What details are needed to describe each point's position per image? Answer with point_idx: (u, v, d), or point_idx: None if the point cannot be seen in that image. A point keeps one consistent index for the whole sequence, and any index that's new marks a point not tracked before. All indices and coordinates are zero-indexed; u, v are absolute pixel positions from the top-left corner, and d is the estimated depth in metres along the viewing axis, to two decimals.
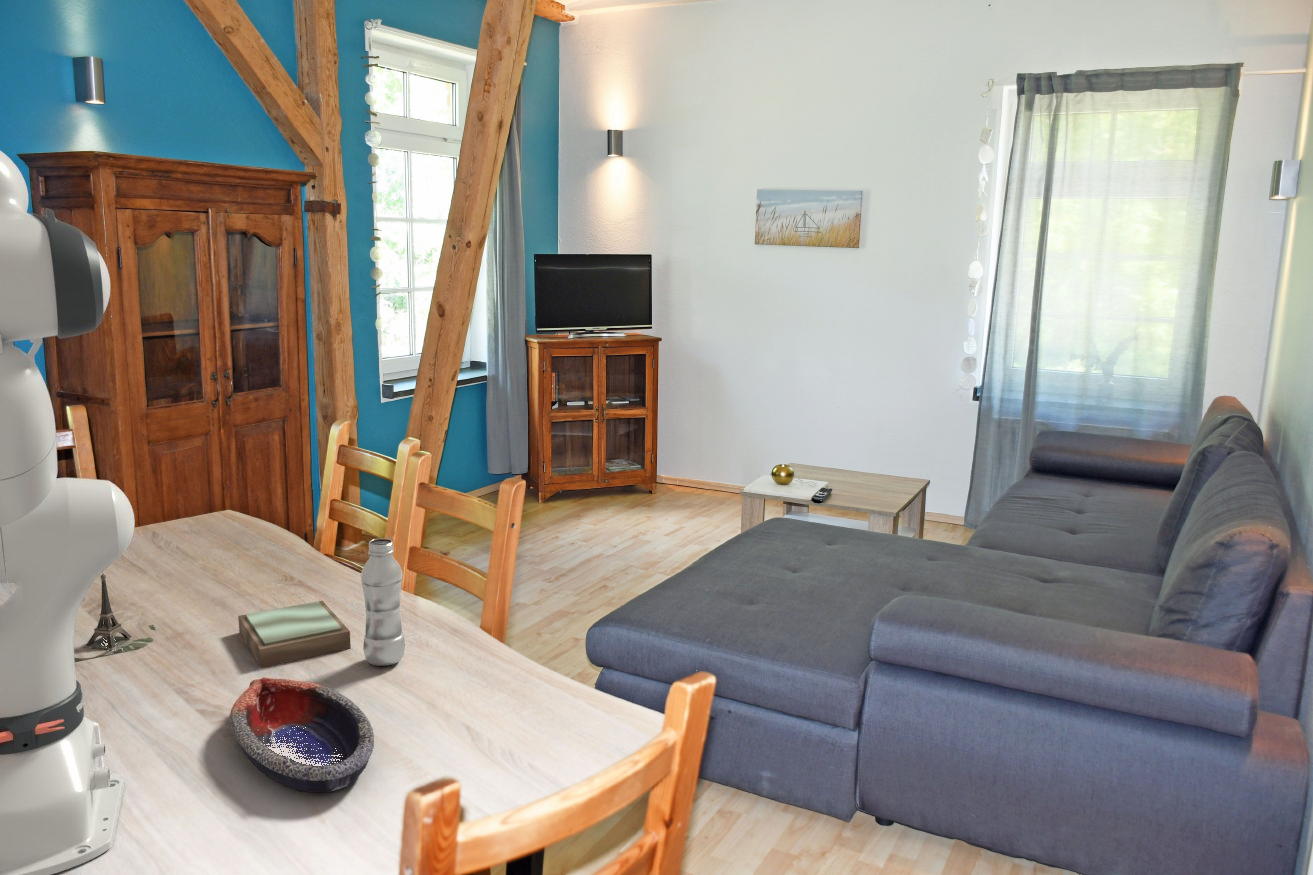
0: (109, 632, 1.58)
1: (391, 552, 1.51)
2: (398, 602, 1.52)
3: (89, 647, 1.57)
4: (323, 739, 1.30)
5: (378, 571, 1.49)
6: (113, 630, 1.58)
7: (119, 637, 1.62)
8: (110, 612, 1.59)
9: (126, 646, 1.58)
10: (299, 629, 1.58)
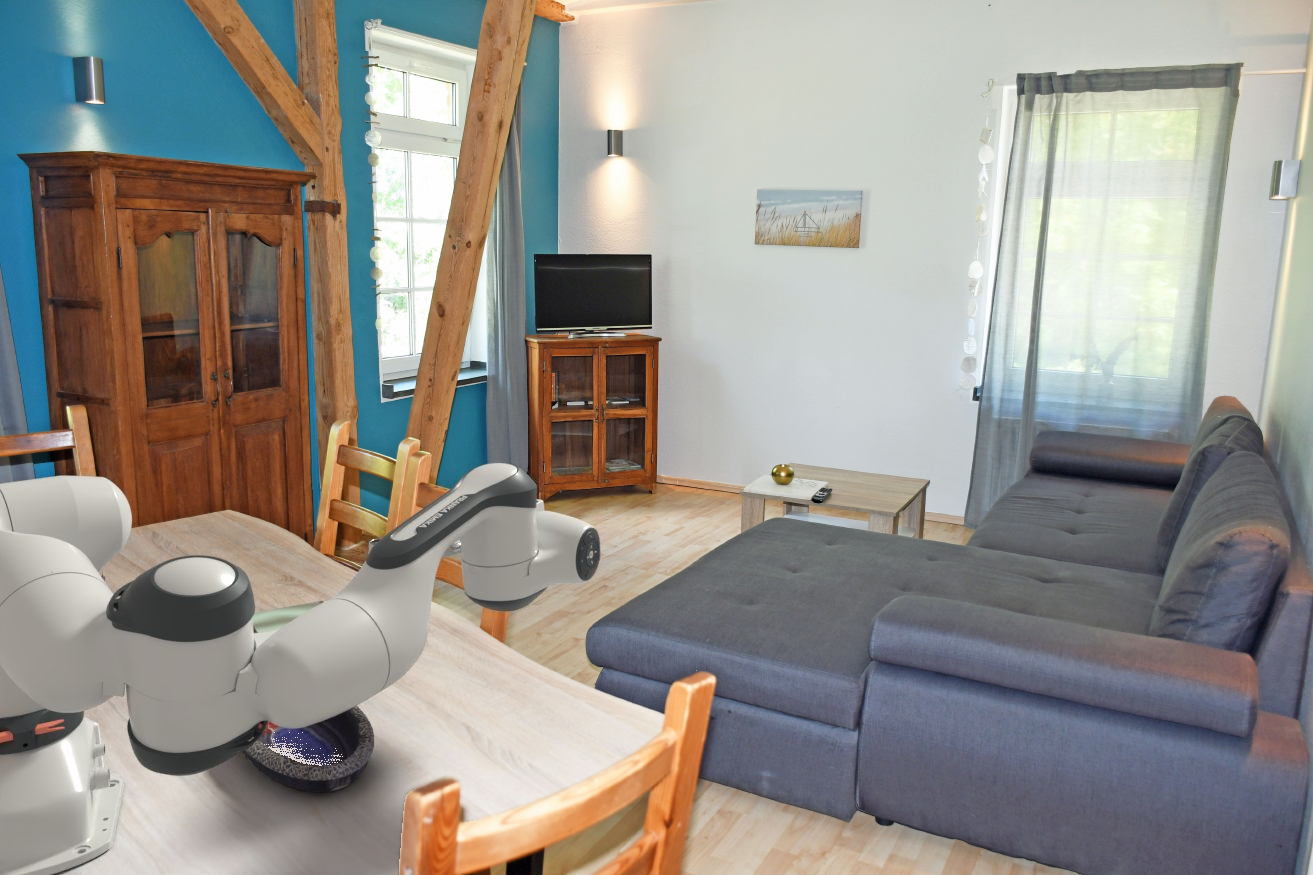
0: None
1: None
2: None
3: None
4: (323, 739, 1.30)
5: None
6: None
7: None
8: None
9: None
10: None
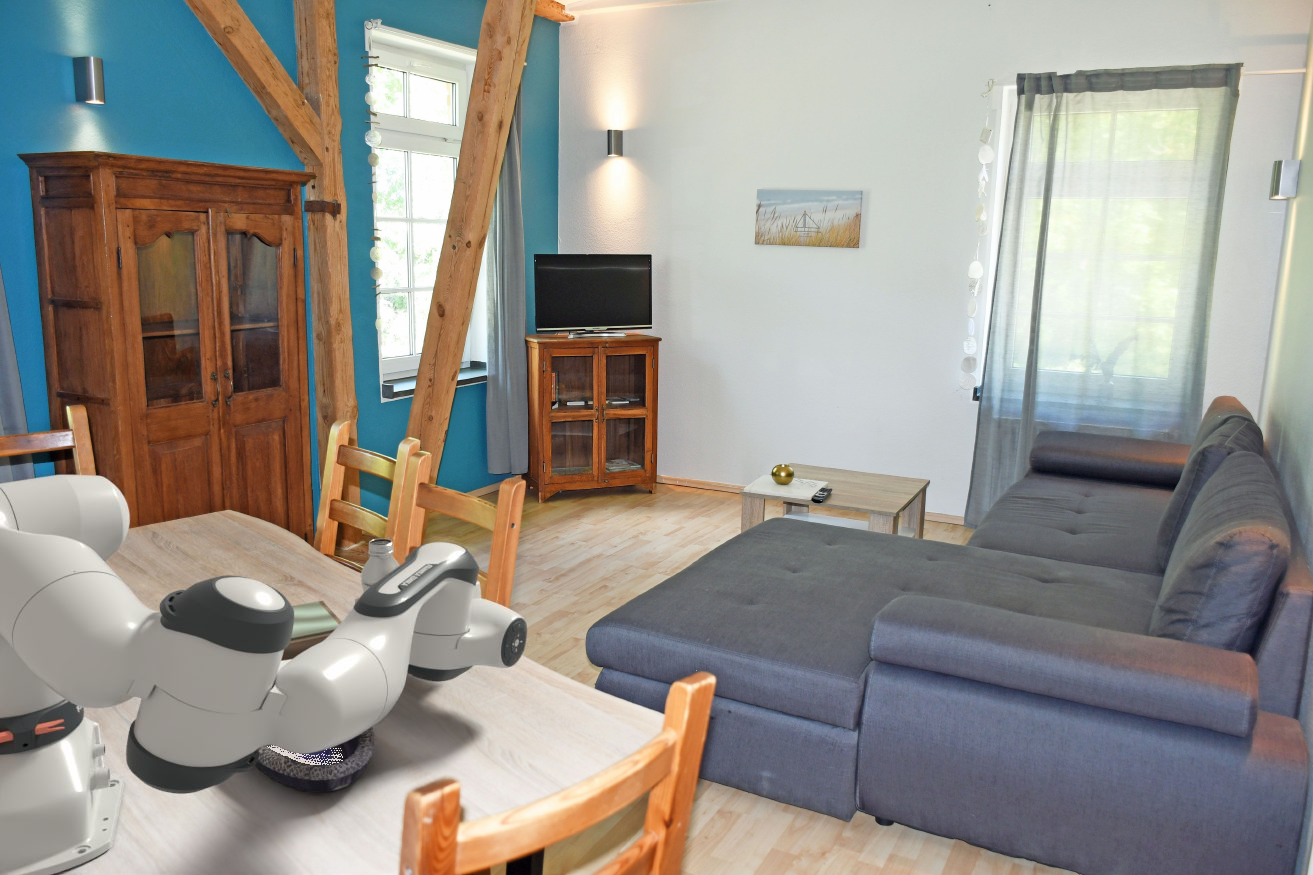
0: None
1: (391, 552, 1.51)
2: None
3: None
4: None
5: (378, 571, 1.49)
6: None
7: None
8: None
9: None
10: (299, 629, 1.58)
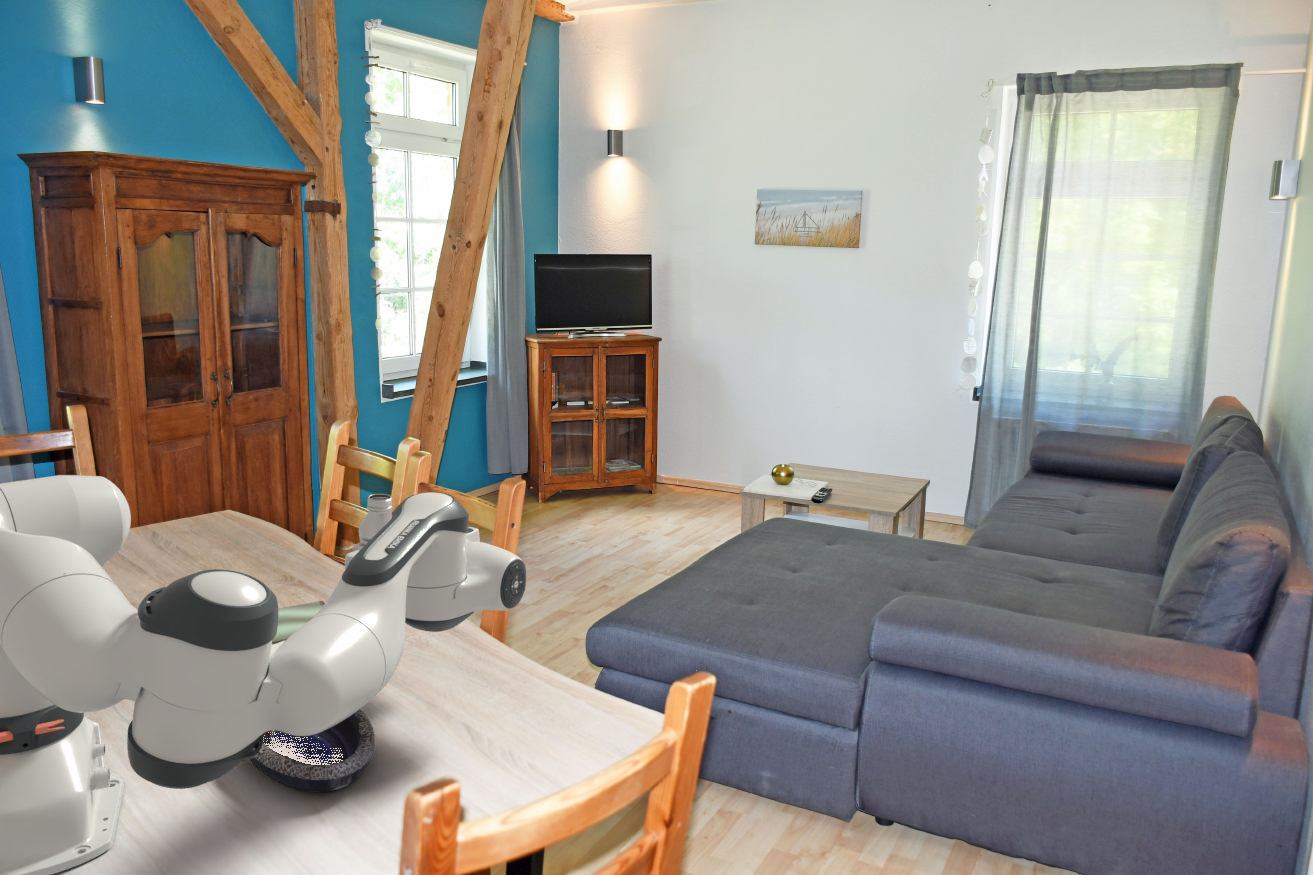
0: None
1: (390, 508, 1.49)
2: None
3: None
4: (323, 739, 1.30)
5: (377, 526, 1.48)
6: None
7: None
8: None
9: None
10: None
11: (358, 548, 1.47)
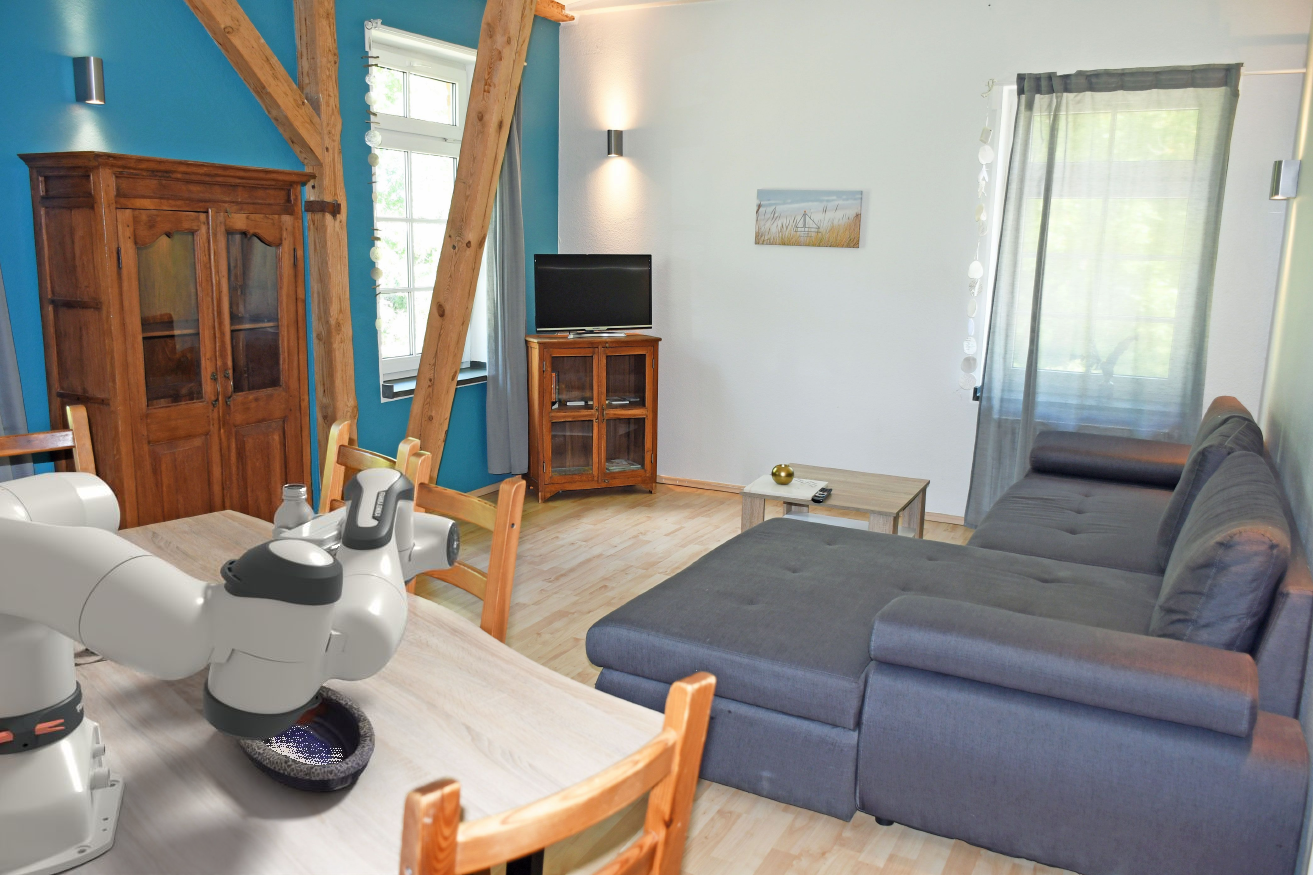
0: None
1: (306, 496, 1.57)
2: None
3: (88, 652, 1.56)
4: (323, 739, 1.30)
5: (296, 514, 1.55)
6: None
7: None
8: None
9: None
10: None
11: (279, 531, 1.53)
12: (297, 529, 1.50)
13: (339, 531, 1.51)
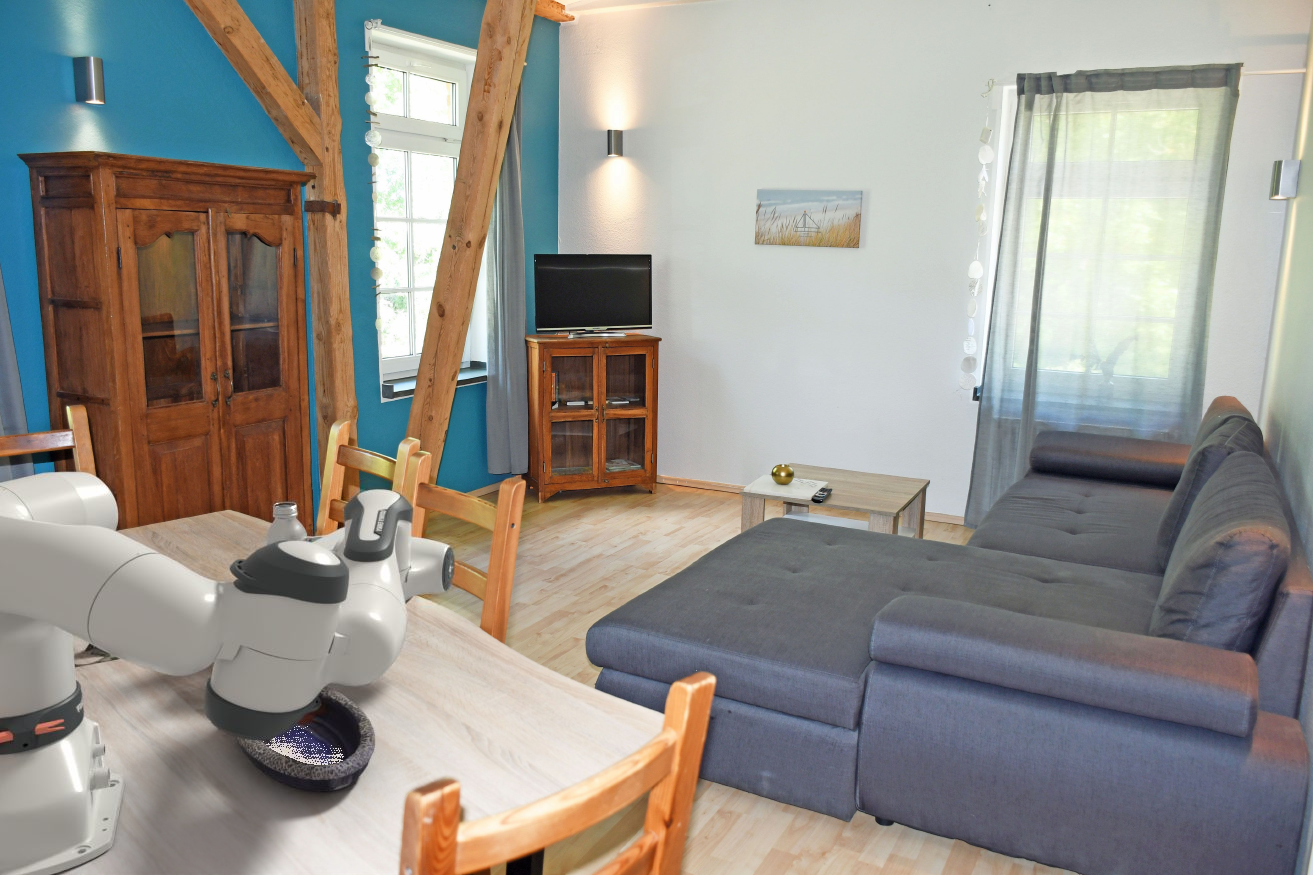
0: None
1: (297, 513, 1.58)
2: None
3: (88, 653, 1.55)
4: (323, 739, 1.30)
5: (288, 532, 1.56)
6: None
7: None
8: None
9: None
10: None
11: None
12: None
13: None
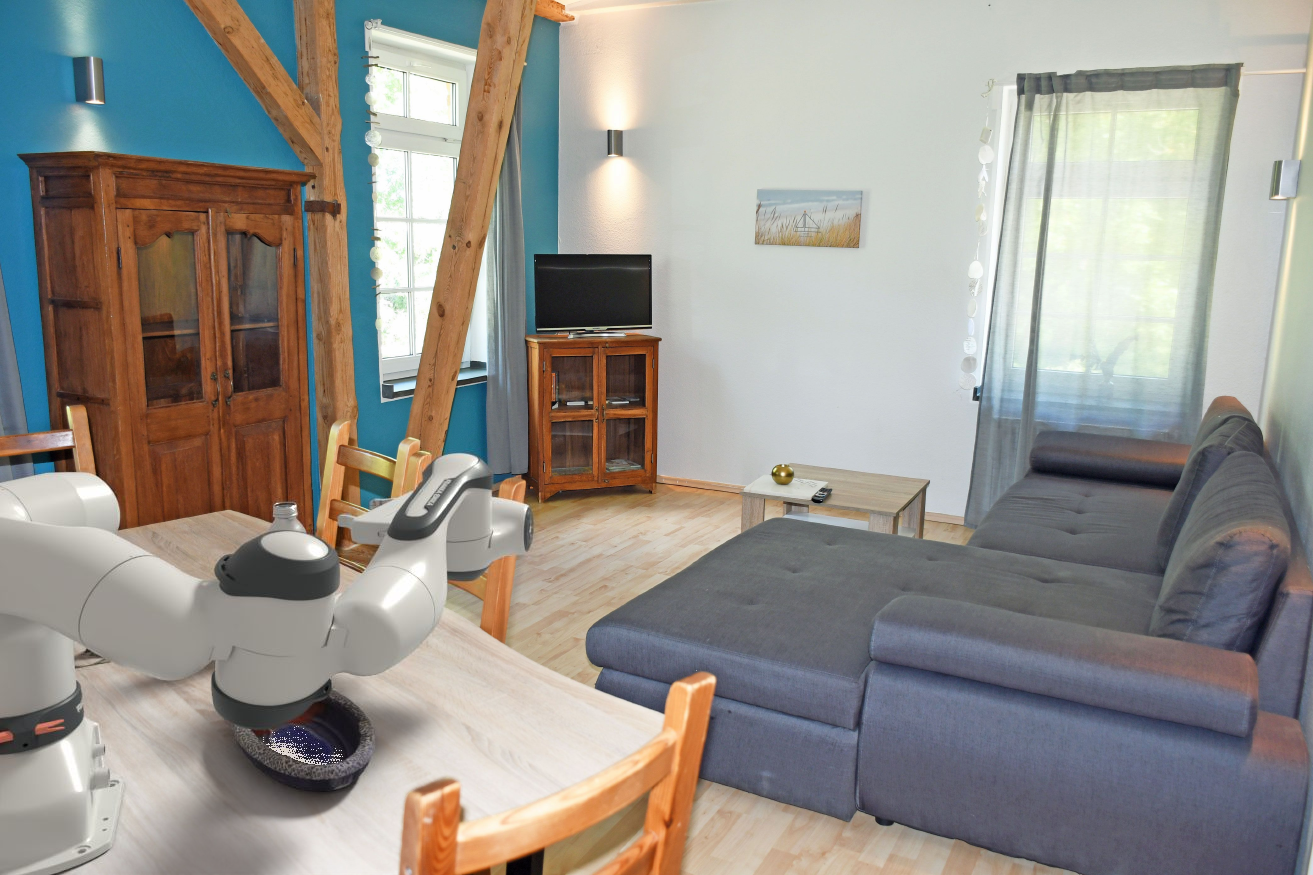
0: None
1: (297, 513, 1.58)
2: None
3: (87, 654, 1.55)
4: (322, 739, 1.30)
5: None
6: None
7: None
8: None
9: None
10: None
11: (345, 518, 1.50)
12: (369, 514, 1.47)
13: None
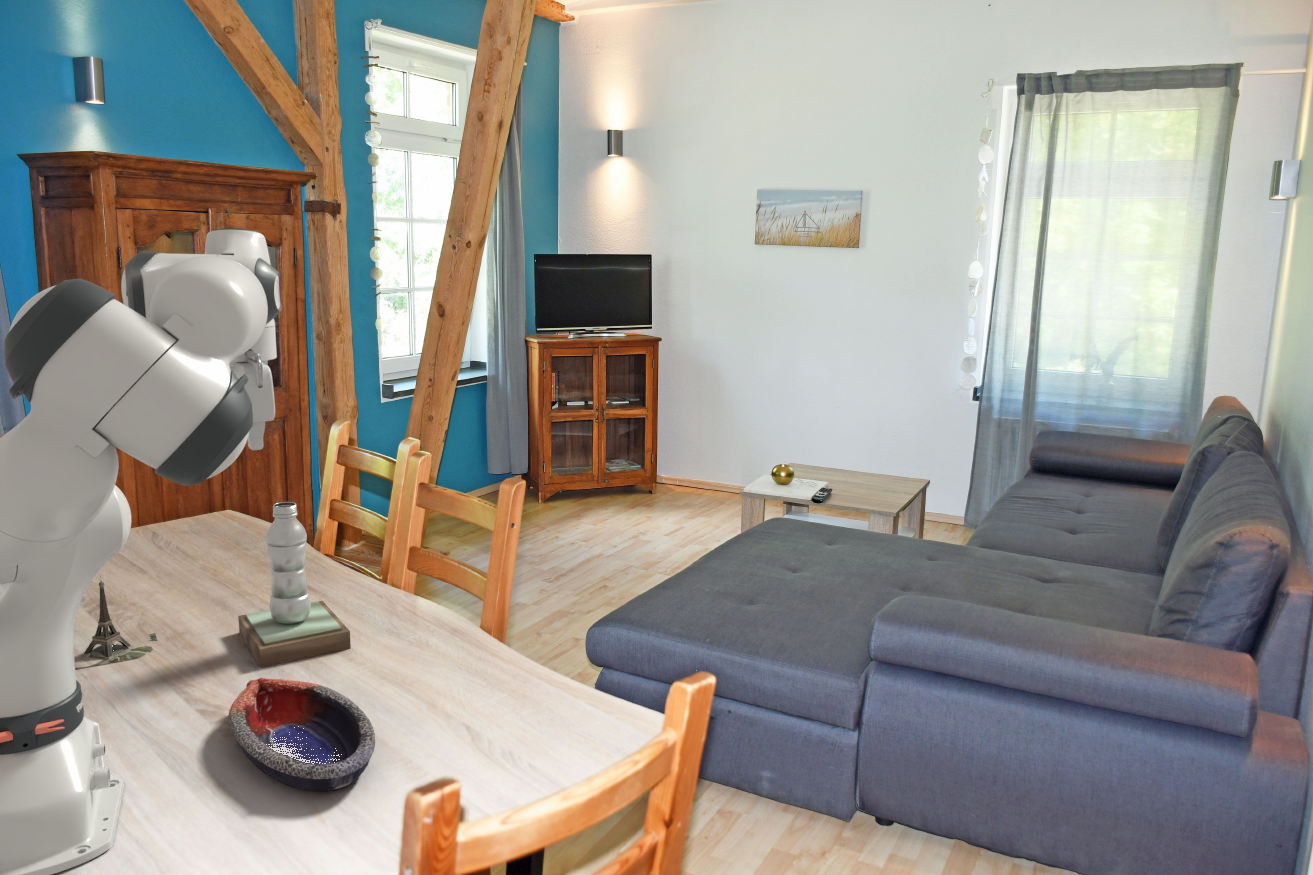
0: (106, 640, 1.54)
1: (297, 513, 1.58)
2: (304, 561, 1.60)
3: (87, 655, 1.54)
4: (322, 739, 1.30)
5: (288, 532, 1.56)
6: (111, 638, 1.55)
7: (119, 645, 1.58)
8: (108, 620, 1.55)
9: (123, 655, 1.55)
10: (299, 629, 1.58)
11: (252, 440, 1.34)
12: None
13: (238, 363, 1.32)
